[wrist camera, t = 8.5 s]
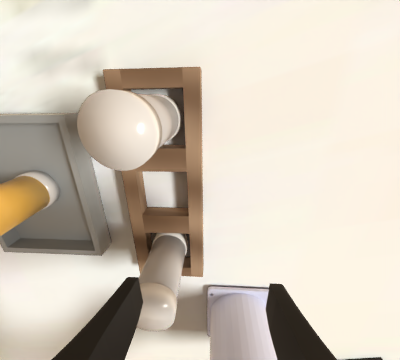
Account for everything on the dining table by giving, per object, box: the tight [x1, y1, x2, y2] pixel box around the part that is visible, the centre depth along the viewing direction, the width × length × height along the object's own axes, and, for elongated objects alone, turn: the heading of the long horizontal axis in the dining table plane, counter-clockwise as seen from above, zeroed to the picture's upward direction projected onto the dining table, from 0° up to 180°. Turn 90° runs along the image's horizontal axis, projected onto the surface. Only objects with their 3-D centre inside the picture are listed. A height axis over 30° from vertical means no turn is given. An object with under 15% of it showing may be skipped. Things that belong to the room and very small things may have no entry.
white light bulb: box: [77, 89, 182, 171], centre depth 13 cm, size 4×4×8 cm
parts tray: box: [0, 113, 111, 256], centre depth 19 cm, size 14×11×2 cm
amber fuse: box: [0, 170, 60, 236], centre depth 15 cm, size 4×4×8 cm
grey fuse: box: [137, 233, 188, 331], centre depth 18 cm, size 4×4×8 cm
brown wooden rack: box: [103, 67, 203, 277], centre depth 18 cm, size 20×7×2 cm, turn 1°
